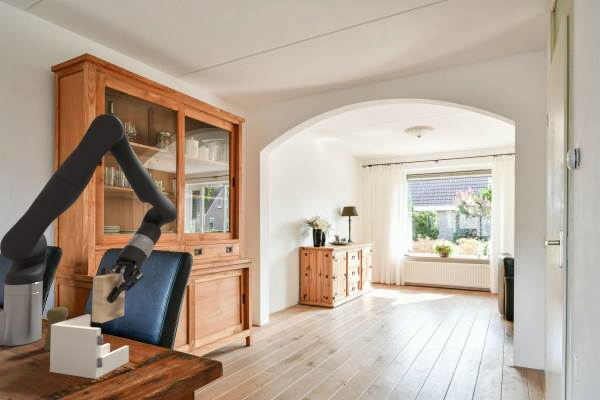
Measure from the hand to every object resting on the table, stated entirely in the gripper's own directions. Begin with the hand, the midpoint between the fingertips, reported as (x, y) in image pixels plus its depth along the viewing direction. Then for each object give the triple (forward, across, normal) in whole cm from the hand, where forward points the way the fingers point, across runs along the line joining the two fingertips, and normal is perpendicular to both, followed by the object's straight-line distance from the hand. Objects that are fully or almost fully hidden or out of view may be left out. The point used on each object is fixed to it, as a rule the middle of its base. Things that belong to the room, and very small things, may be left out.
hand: (103, 300), depth 103 cm
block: (+2, 0, +5) cm, 6 cm away
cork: (+10, -16, +10) cm, 21 cm away
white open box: (+16, +6, +3) cm, 17 cm away
